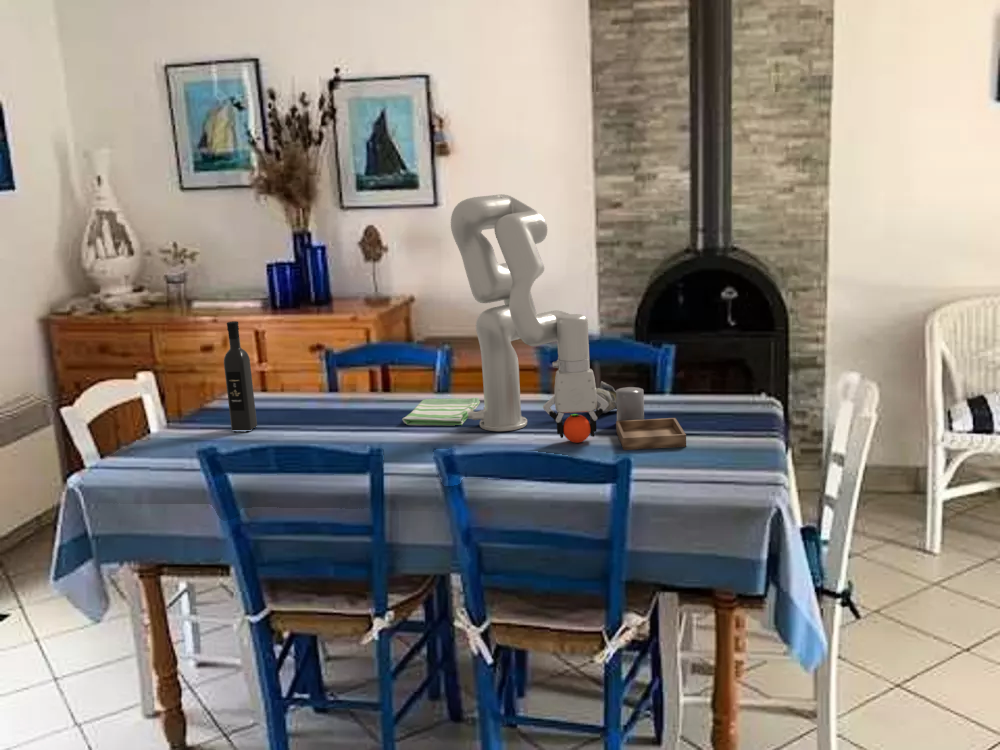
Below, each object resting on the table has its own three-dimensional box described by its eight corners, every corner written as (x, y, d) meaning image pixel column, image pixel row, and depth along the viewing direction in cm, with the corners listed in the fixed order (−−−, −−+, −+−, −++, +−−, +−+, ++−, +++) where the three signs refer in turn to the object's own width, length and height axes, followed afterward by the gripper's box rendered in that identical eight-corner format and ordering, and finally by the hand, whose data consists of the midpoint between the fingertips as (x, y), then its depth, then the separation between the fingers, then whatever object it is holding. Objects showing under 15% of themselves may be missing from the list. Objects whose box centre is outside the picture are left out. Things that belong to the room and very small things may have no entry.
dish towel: (481, 404, 296) (481, 395, 295) (464, 427, 274) (463, 417, 273) (421, 405, 299) (421, 395, 299) (399, 427, 277) (399, 417, 276)
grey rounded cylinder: (618, 428, 263) (617, 394, 261) (615, 421, 270) (614, 388, 268) (646, 427, 263) (645, 393, 261) (642, 419, 270) (641, 386, 268)
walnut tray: (623, 450, 245) (623, 438, 244) (616, 432, 260) (616, 421, 259) (686, 446, 245) (686, 434, 244) (675, 429, 259) (675, 417, 259)
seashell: (626, 416, 274) (625, 379, 271) (563, 416, 277) (562, 380, 274) (628, 406, 283) (627, 371, 281) (567, 407, 286) (565, 372, 284)
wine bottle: (249, 432, 278) (237, 323, 271) (230, 432, 279) (217, 324, 272) (258, 427, 283) (246, 320, 276) (239, 426, 284) (227, 320, 278)
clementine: (557, 439, 256) (555, 412, 255) (582, 435, 259) (581, 408, 257) (570, 447, 249) (569, 419, 247) (596, 443, 251) (595, 415, 250)
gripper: (538, 370, 246) (542, 442, 250) (611, 366, 246) (613, 438, 250) (537, 364, 253) (541, 433, 257) (608, 360, 253) (610, 429, 257)
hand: (576, 435), depth 253 cm, fingers closed on clementine, 7 cm apart
